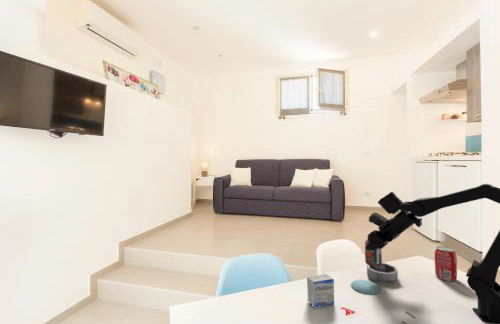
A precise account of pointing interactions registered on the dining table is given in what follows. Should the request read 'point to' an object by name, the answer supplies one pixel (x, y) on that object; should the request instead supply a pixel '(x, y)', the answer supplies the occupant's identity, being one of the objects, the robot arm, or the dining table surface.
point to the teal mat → (365, 287)
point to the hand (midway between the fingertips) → (369, 246)
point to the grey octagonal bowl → (383, 273)
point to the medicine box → (320, 290)
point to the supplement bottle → (373, 255)
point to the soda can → (445, 263)
